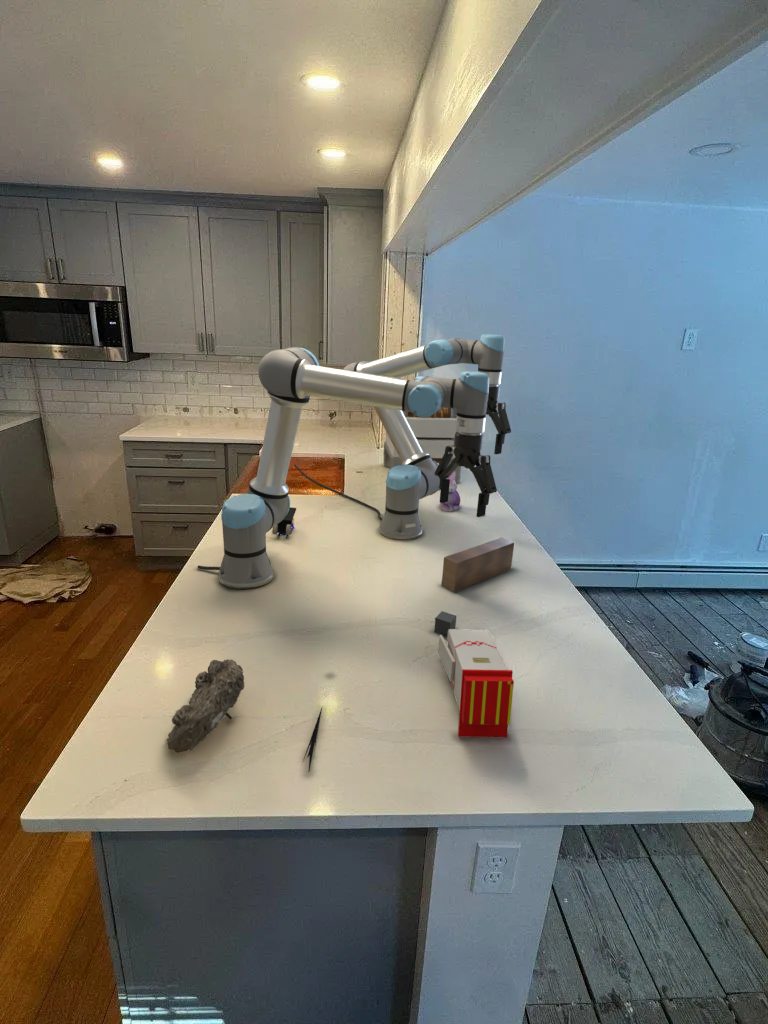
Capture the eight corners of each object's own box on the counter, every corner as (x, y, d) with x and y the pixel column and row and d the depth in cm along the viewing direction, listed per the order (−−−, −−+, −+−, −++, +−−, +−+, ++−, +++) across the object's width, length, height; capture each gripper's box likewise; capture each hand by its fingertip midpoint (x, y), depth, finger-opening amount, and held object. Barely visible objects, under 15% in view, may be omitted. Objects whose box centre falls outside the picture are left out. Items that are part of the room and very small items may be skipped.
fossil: (192, 660, 117) (244, 628, 112) (224, 691, 120) (276, 661, 115) (142, 746, 98) (202, 712, 93) (182, 779, 101) (242, 748, 96)
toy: (488, 613, 130) (523, 677, 101) (484, 667, 133) (517, 744, 104) (435, 612, 130) (455, 676, 101) (432, 666, 133) (451, 743, 103)
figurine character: (292, 545, 190) (297, 524, 203) (291, 525, 186) (296, 505, 200) (271, 544, 189) (278, 523, 203) (270, 524, 186) (277, 504, 199)
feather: (331, 679, 122) (336, 673, 122) (307, 777, 96) (313, 769, 95) (324, 675, 122) (329, 669, 121) (298, 772, 95) (304, 764, 95)
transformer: (382, 463, 289) (386, 382, 275) (445, 464, 293) (451, 384, 279) (390, 482, 257) (394, 392, 243) (460, 483, 261) (468, 394, 247)
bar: (454, 592, 160) (456, 563, 157) (441, 585, 164) (443, 557, 161) (511, 569, 176) (514, 542, 173) (498, 563, 180) (501, 537, 177)
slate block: (434, 632, 140) (435, 617, 139) (440, 624, 143) (441, 610, 142) (448, 636, 138) (450, 622, 137) (455, 629, 142) (456, 615, 140)
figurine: (446, 513, 222) (450, 476, 217) (432, 505, 230) (435, 469, 225) (466, 510, 226) (470, 474, 221) (452, 502, 234) (455, 467, 229)
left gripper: (425, 425, 155) (420, 498, 162) (498, 443, 137) (488, 525, 145) (444, 422, 160) (438, 494, 167) (516, 440, 142) (506, 519, 149)
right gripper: (451, 380, 188) (446, 443, 196) (512, 390, 171) (504, 459, 178) (466, 379, 193) (461, 440, 200) (527, 389, 175) (518, 455, 183)
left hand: (461, 508), depth 156 cm, fingers open, 13 cm apart
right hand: (481, 449), depth 189 cm, fingers open, 13 cm apart
